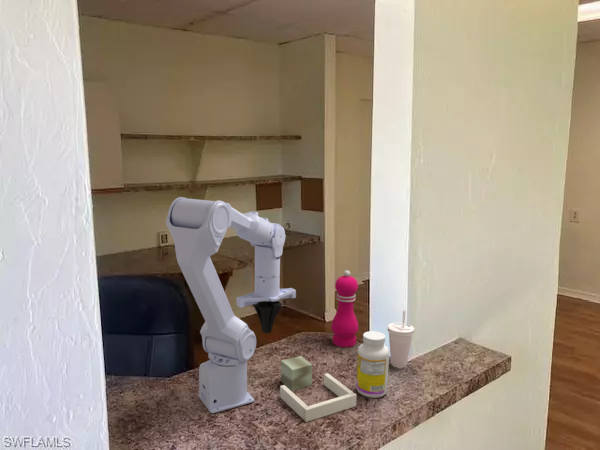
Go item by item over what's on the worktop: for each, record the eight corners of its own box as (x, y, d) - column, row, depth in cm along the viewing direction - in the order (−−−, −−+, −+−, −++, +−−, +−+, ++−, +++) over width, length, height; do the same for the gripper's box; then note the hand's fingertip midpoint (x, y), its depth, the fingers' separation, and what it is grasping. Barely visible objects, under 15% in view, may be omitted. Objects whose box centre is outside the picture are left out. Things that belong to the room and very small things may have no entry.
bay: (306, 422, 94) (306, 410, 93) (280, 397, 103) (280, 385, 102) (356, 406, 100) (356, 394, 99) (327, 383, 109) (327, 373, 108)
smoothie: (405, 373, 114) (408, 316, 112) (380, 365, 118) (383, 310, 116) (416, 364, 119) (420, 309, 117) (392, 356, 123) (395, 303, 121)
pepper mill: (329, 346, 128) (331, 273, 125) (332, 336, 135) (334, 266, 132) (357, 349, 127) (360, 275, 124) (358, 338, 134) (361, 267, 131)
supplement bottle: (365, 380, 111) (367, 326, 108) (392, 389, 107) (395, 334, 105) (350, 392, 105) (353, 336, 103) (378, 402, 101) (381, 344, 99)
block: (292, 391, 105) (292, 369, 104) (280, 381, 110) (281, 360, 109) (311, 386, 108) (312, 364, 107) (300, 376, 112) (300, 355, 111)
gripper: (246, 283, 104) (246, 344, 106) (303, 274, 111) (302, 331, 114) (232, 275, 109) (232, 333, 112) (287, 267, 117) (286, 321, 120)
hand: (266, 331), depth 113 cm, fingers closed
